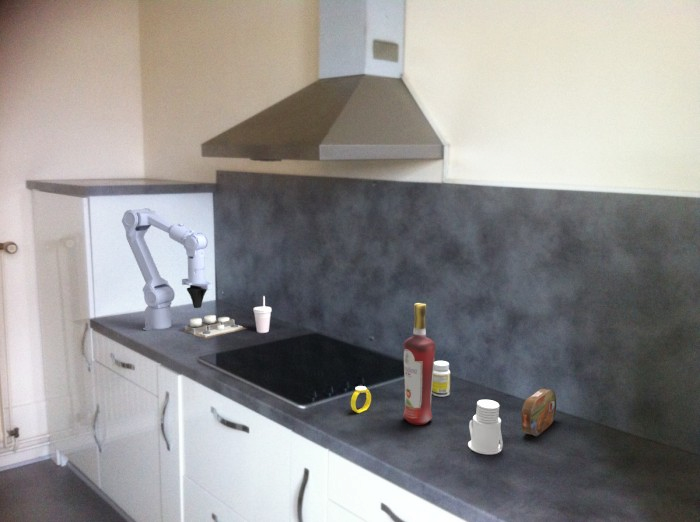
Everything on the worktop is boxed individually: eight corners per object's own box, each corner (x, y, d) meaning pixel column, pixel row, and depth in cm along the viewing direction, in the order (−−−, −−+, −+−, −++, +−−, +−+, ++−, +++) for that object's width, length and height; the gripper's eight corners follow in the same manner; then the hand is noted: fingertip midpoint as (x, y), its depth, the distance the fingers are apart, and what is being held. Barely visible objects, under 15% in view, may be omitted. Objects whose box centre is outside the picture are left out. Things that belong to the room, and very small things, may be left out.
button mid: (202, 322, 228) (201, 316, 228) (211, 320, 231) (211, 314, 231) (208, 324, 226) (208, 318, 225) (218, 322, 229) (218, 316, 228)
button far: (215, 324, 233) (215, 318, 233) (224, 322, 236) (224, 316, 236) (222, 326, 230) (222, 320, 230) (231, 324, 233) (231, 318, 233)
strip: (198, 334, 220) (198, 328, 220) (235, 326, 232) (235, 320, 232) (205, 336, 217) (205, 330, 217) (242, 328, 229) (242, 322, 229)
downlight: (459, 446, 138) (462, 402, 137) (478, 436, 143) (481, 394, 141) (491, 460, 133) (495, 414, 131) (509, 449, 138) (513, 405, 136)
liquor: (395, 419, 153) (397, 303, 148) (418, 412, 157) (421, 299, 153) (416, 429, 147) (419, 309, 142) (439, 422, 151) (443, 305, 147)
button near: (187, 325, 224) (187, 319, 223) (197, 323, 227) (197, 317, 226) (194, 327, 221) (194, 321, 221) (204, 325, 224) (204, 319, 224)
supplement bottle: (439, 389, 173) (439, 359, 172) (453, 393, 170) (454, 363, 169) (427, 393, 170) (428, 362, 169) (442, 398, 167) (443, 366, 165)
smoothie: (270, 337, 222) (270, 298, 220) (252, 337, 223) (251, 297, 220) (273, 333, 229) (272, 294, 227) (255, 332, 229) (254, 294, 227)
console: (181, 335, 225) (181, 325, 225) (222, 325, 239) (222, 316, 238) (205, 342, 216) (205, 332, 215) (247, 332, 229) (247, 322, 229)
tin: (531, 441, 141) (533, 404, 140) (517, 437, 143) (519, 401, 142) (556, 420, 153) (558, 386, 152) (543, 417, 155) (545, 383, 154)
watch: (357, 416, 155) (356, 393, 154) (348, 413, 157) (347, 390, 156) (373, 408, 159) (372, 385, 158) (365, 405, 161) (364, 383, 160)
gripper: (174, 267, 223) (175, 306, 225) (199, 272, 214) (200, 312, 216) (191, 265, 228) (192, 303, 231) (216, 270, 219) (217, 309, 221)
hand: (197, 307), depth 224 cm, fingers closed
